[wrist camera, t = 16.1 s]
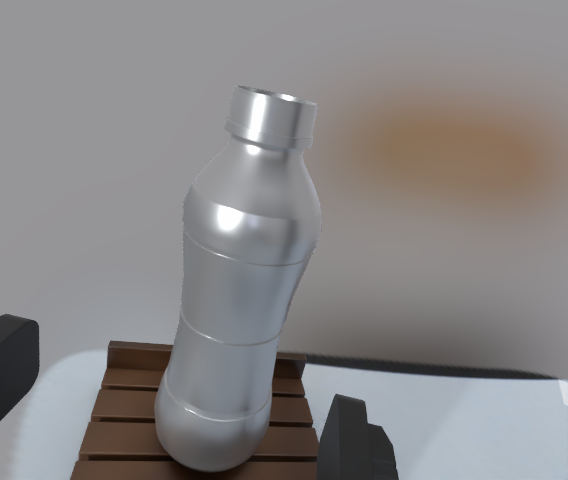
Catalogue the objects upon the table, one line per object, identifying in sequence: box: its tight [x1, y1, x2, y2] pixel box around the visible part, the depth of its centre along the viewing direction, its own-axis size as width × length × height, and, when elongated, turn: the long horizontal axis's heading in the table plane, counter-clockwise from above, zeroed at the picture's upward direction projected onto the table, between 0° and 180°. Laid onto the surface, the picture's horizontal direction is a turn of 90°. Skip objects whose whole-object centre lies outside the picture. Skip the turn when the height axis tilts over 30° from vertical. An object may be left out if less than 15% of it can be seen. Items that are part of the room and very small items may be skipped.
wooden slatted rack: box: [70, 341, 319, 480], centre depth 25 cm, size 14×14×4 cm
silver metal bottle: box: [154, 85, 322, 473], centre depth 21 cm, size 6×7×20 cm
